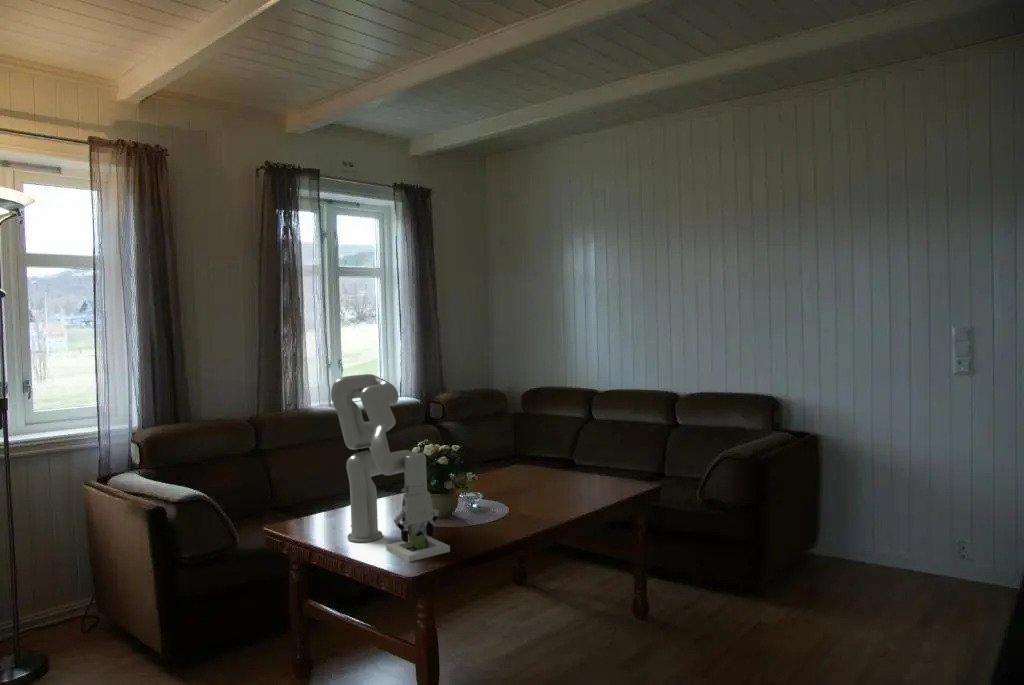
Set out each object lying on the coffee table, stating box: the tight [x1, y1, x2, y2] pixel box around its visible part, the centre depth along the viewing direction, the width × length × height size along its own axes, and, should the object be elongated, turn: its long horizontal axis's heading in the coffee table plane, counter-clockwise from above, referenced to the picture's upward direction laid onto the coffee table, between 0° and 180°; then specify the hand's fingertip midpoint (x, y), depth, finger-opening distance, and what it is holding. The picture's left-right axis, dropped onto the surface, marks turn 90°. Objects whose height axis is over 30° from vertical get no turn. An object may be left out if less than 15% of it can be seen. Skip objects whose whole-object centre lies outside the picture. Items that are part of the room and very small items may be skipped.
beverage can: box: [407, 522, 429, 552], centre depth 252 cm, size 6×7×12 cm
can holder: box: [385, 535, 451, 563], centre depth 252 cm, size 16×16×2 cm
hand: (417, 538), depth 252 cm, fingers open, 9 cm apart
